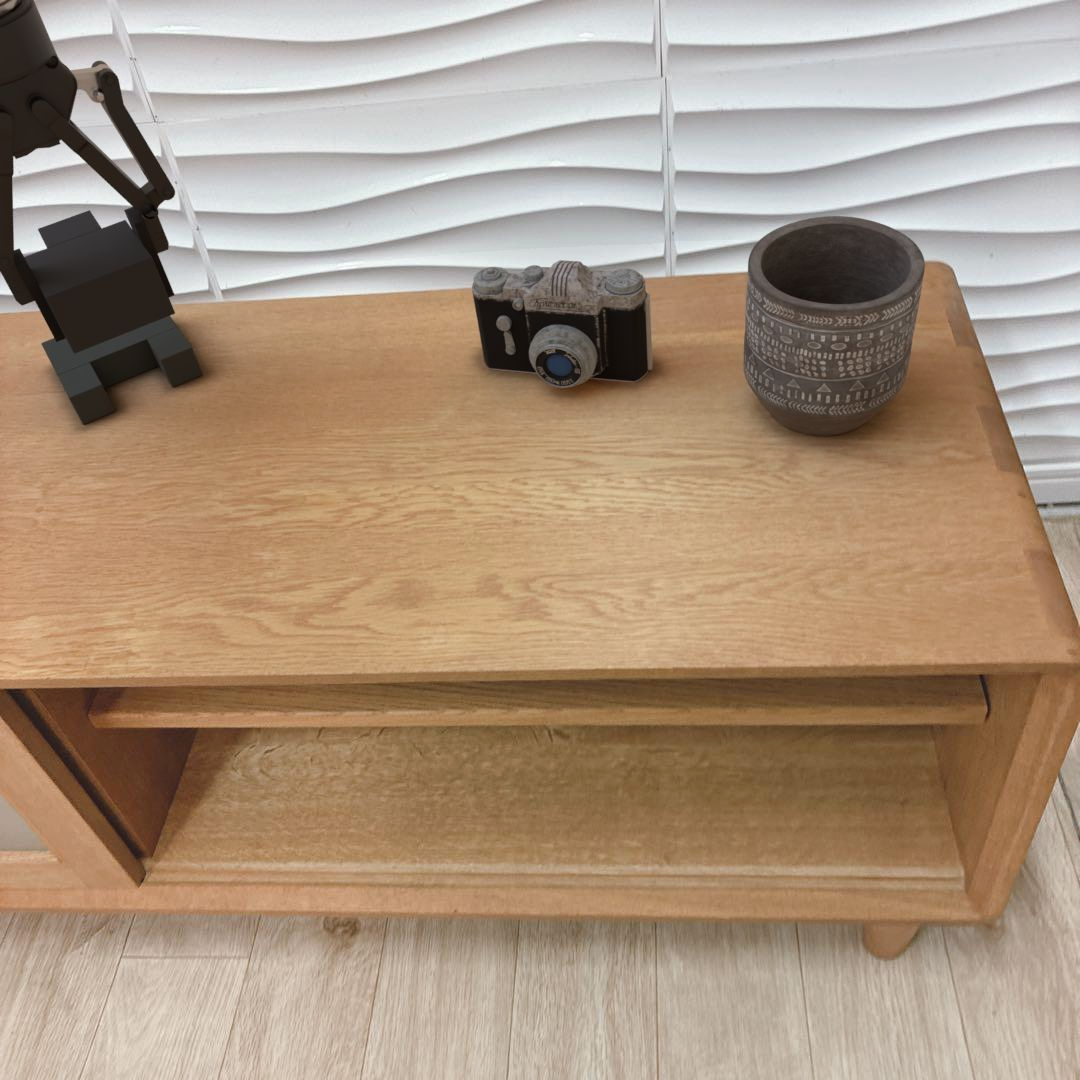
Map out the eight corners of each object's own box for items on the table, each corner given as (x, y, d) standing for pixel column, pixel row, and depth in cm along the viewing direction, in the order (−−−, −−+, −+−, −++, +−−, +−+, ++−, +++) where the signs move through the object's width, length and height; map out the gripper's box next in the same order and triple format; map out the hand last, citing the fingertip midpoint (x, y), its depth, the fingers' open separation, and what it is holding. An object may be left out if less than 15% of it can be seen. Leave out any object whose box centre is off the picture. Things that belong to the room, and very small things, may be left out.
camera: (467, 391, 90) (447, 290, 83) (490, 343, 95) (474, 242, 88) (640, 408, 87) (635, 303, 79) (656, 357, 91) (653, 253, 84)
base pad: (83, 425, 93) (68, 398, 90) (55, 369, 99) (40, 343, 97) (203, 374, 96) (192, 347, 94) (168, 323, 102) (157, 297, 100)
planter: (847, 338, 90) (864, 199, 81) (932, 424, 82) (962, 279, 73) (715, 381, 88) (717, 242, 79) (789, 472, 80) (801, 330, 71)
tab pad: (74, 354, 80) (45, 297, 77) (41, 291, 87) (13, 237, 83) (175, 313, 83) (152, 257, 79) (136, 256, 89) (112, 201, 86)
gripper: (113, -56, 73) (220, 242, 89) (-212, 39, 66) (-32, 339, 83) (145, -27, 68) (252, 281, 84) (-201, 77, 62) (-13, 387, 78)
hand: (111, 310), depth 84 cm, fingers closed on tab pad, 8 cm apart
